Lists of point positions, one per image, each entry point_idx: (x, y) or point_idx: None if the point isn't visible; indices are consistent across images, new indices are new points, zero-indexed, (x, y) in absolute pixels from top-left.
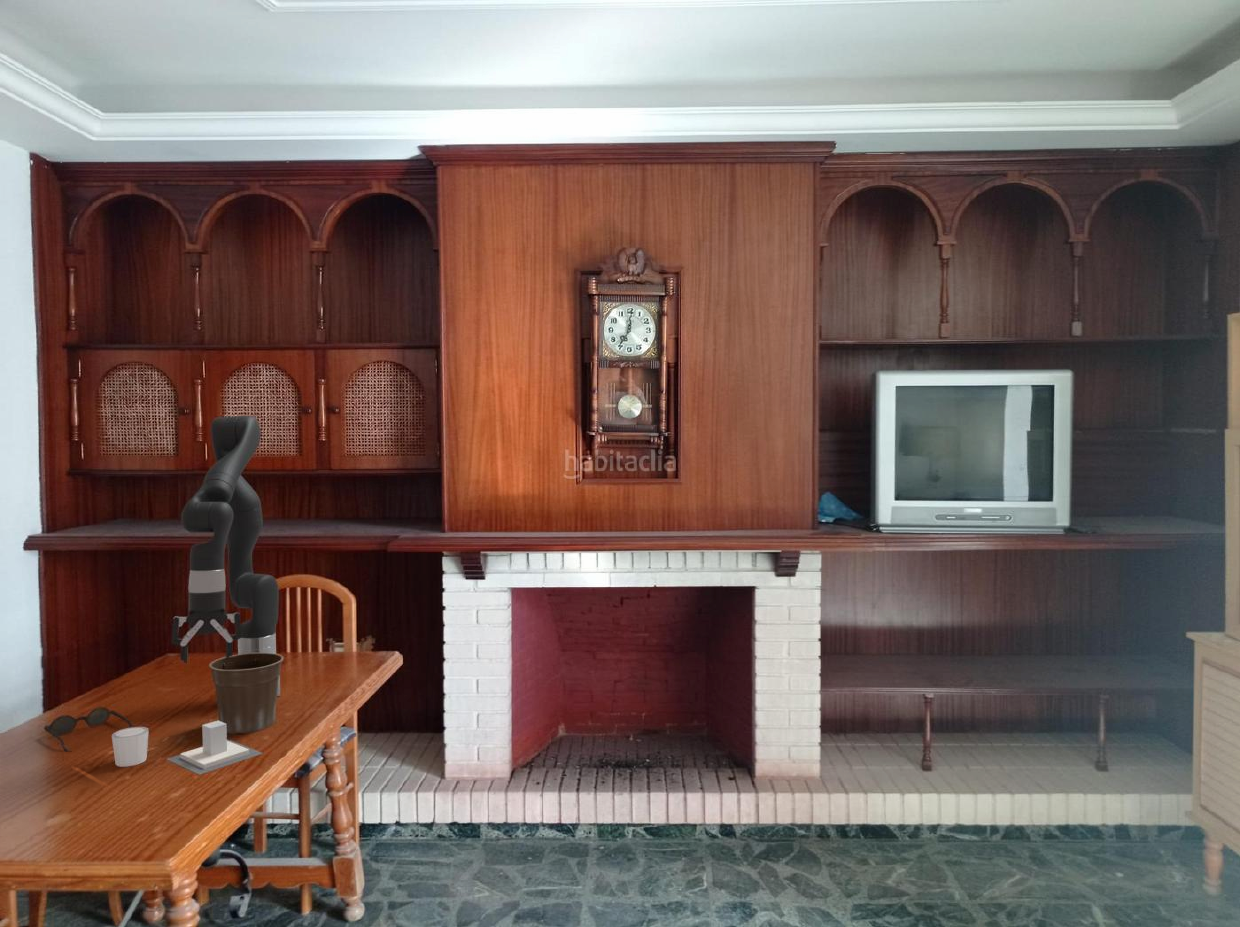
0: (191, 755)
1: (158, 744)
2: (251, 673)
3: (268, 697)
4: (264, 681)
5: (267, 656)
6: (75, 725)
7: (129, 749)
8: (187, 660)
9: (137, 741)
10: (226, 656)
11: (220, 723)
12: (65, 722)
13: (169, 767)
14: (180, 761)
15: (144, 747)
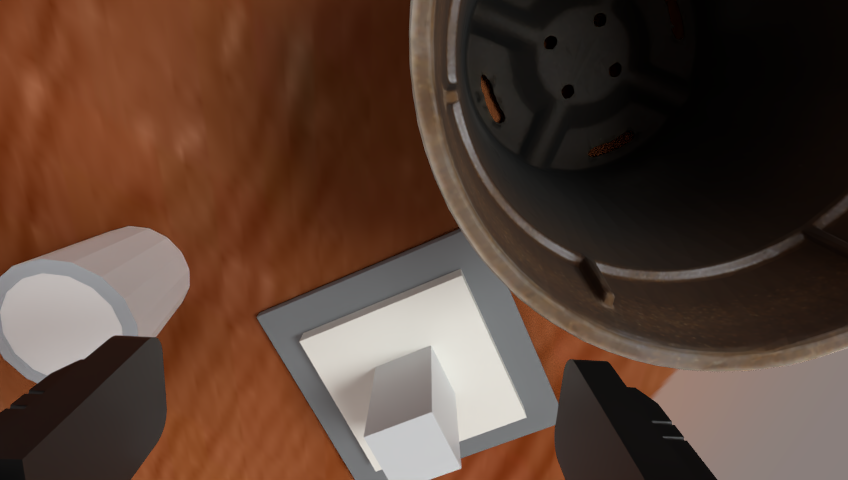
0: (337, 376)
1: (209, 97)
2: (711, 332)
3: (728, 195)
4: (765, 268)
5: None
6: None
7: None
8: (156, 396)
9: None
10: (566, 468)
11: (438, 452)
12: None
13: (273, 367)
14: (304, 364)
15: (159, 329)
